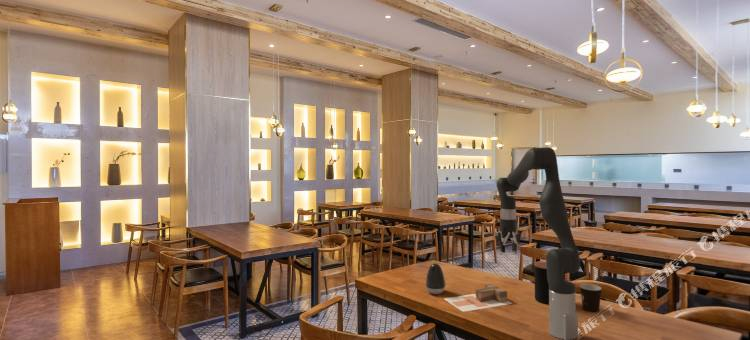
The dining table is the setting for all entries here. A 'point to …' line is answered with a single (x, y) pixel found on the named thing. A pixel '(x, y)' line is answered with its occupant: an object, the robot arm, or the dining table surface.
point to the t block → (491, 294)
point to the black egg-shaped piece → (435, 279)
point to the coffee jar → (541, 282)
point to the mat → (472, 303)
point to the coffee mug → (590, 297)
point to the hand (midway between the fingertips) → (508, 251)
